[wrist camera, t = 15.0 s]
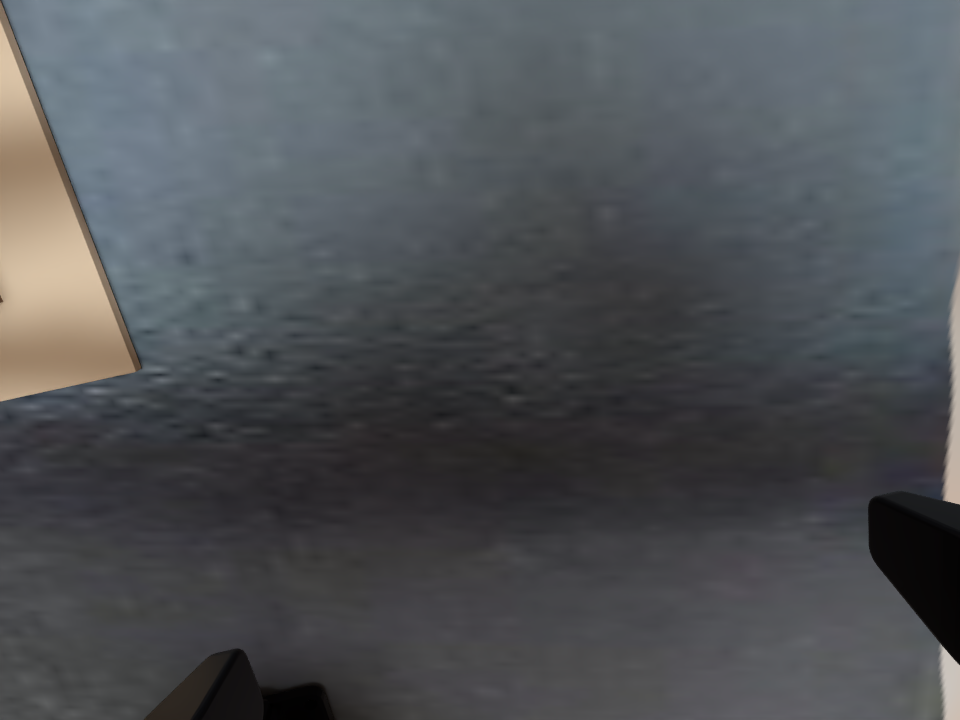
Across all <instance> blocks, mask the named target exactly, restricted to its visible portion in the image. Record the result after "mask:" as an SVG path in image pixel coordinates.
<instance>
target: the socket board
mask: <svg viewBox="0 0 960 720" xmlns="http://www.w3.org/2000/svg"><path fill="white" fill-rule="evenodd" d="M140 369H141V366H140V363H139V360H138V358H137V355H136V353H135V350H134V347H133V345H132V342H131V340H130V337H129V334H128V332H127V329H126V327H125V324H124V321H123V319H122V316H121V314H120V311H119V308H118V306H117V303H116V300H115V298H114V295H113V293H112V290H111V287H110V285H109V282H108V280H107V277H106V274H105V272H104V269H103V267H102V264H101V261H100V259H99V256H98V254H97V251H96V248H95V246H94V243H93V241H92V238H91V235H90V233H89V230H88V227H87V225H86V222H85V220H84V217H83V214H82V212H81V209H80V207H79V204H78V201H77V199H76V196H75V194H74V191H73V188H72V186H71V183H70V181H69V178H68V175H67V173H66V170H65V167H64V165H63V162H62V160H61V157H60V154H59V152H58V149H57V147H56V144H55V141H54V139H53V136H52V134H51V131H50V128H49V126H48V123H47V121H46V118H45V115H44V113H43V110H42V107H41V105H40V102H39V100H38V97H37V94H36V92H35V89H34V87H33V84H32V81H31V79H30V76H29V74H28V71H27V68H26V66H25V63H24V61H23V58H22V55H21V53H20V50H19V48H18V45H17V42H16V40H15V37H14V34H13V32H12V29H11V27H10V24H9V21H8V19H7V16H6V14H5V11H4V8H3V6H2V3H1V1H0V401H4V400H9V399H13V398H18V397H23V396H27V395H32V394H36V393H41V392H46V391H50V390H55V389H59V388H64V387H68V386H73V385H78V384H82V383H87V382H91V381H96V380H101V379H105V378H110V377H114V376H119V375H123V374H128V373H133V372H136V371H138V370H140Z"/></svg>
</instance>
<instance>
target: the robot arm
mask: <svg viewBox="0 0 960 720" xmlns="http://www.w3.org/2000/svg"><path fill="white" fill-rule="evenodd" d="M868 526H869V549H870V553H871V556H872V558H873V560H874V561H875V563H876V565H877V566H878V567H879V568H880V570H881V571H882V572H883V573H884V575H885V576H886V577H887V578H888V580H889V581H890V582H891V583H892V584H893V586H894V587H895V588H896V589H897V591H898V592H899V593H900V594H901V596H902V597H903V598H904V599H905V600H906V602H907V603H908V604H909V605H910V607H911V608H912V609H913V610H914V611H915V613H916V614H917V615H918V616H919V618H920V619H921V620H922V621H923V623H924V624H925V625H926V626H927V627H928V629H929V630H930V631H931V632H932V634H933V635H934V636H935V637H936V639H937V640H938V641H939V642H940V643H941V645H942V646H943V647H944V648H945V649H946V650H947V652H948V653H949V654H950V655H951V656H952V657H953V658H954V660H955V661H956V662H957V663H958V664H959V665H960V505H959V504H955V503H951V502H947V501H942V500H938V499H934V498H930V497H926V496H921V495H917V494H913V493H909V492H904V491H896V492H892V493H887V494H883V495H879V496H875V497H874V498H872V499H871V500H870V502H869V506H868ZM309 699H313V700H315V701H312V702H311V701H308V700H309ZM144 720H334V718H333V716H332V713H331V710H330V707H329V704H328V701H327V698H326V695H325V693H324V691H323V690H322V689H321V688H319V687H316V686H309V687H304V688H300V689H296V690H292V691H288V692H284V693H280V694H276V695H271V696H267V697H263V698H262V694H261V691H260V688H259V686H258V683H257V680H256V678H255V675H254V673H253V670H252V667H251V665H250V662H249V660H248V657H247V655H246V653H245V652H244V651H243V650H241V649H232V650H228V651H224V652H220V653H216V654H213V655H211V656H209V657H208V658H207V659H206V660H205V661H204V662H203V663H201V664H200V665H199V666H198V667H197V668H196V669H195V670H194V671H193V672H192V673H191V674H190V675H189V676H188V677H187V678H186V679H185V680H184V681H183V682H182V683H181V684H180V685H179V686H178V687H177V688H176V689H175V690H174V691H173V692H172V693H171V694H169V695H168V696H167V697H166V698H165V699H164V700H163V701H162V702H161V703H160V704H159V705H158V706H157V707H156V708H155V709H154V710H153V711H152V712H151V713H150V714H149V715H148V716H147V717H146V718H145V719H144Z"/></svg>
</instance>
